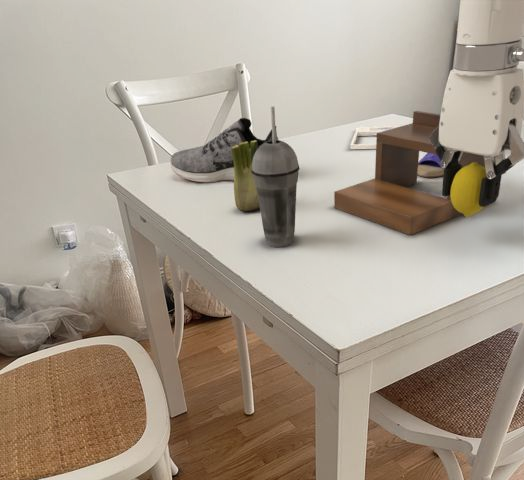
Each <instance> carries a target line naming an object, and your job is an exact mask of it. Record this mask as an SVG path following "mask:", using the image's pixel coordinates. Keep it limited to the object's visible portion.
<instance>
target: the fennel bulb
mask: <svg viewBox="0 0 524 480" xmlns="http://www.w3.org/2000/svg"><path fill="white" fill-rule="evenodd" d="M231 150H232V156H233V162H234V172H235V175H234V181H233V195H234V204H235V207H236V208H237V209H238V210H239V211H242V212H249V211H253V210H257V209H260V206H259V200H258V194H257V188H256V186H255V182H254V179H253V174H252V173H251V170H252V162H253V157H254V154H255V152H256V151H257V141H256V140H255V141H251V142H250V150H249V144H248V142H244V143H240V144H239V146H238V145H236V146H233V147H232V148H231Z"/></svg>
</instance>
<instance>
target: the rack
mask: <svg viewBox="0 0 524 480" xmlns="http://www.w3.org/2000/svg"><path fill="white" fill-rule="evenodd" d="M440 115H441V113H434V112H428V111H422V110H421V111H420V110H414V111H413V113H412V123H411V122H410V123H408V124H405V125H400V126H401V127H397V128H394V129H390V130H386V131H383V132H379V133H377V135H376V139H375V140H376V142H375V144H376V149H375V165H374V166H375V169H374V178H372V179H369V180H366V181H363V182H360V183H356V184H353V185H351V186H347V187H344V188H341V189H338V190H336V191H334V192H333V194H334V199H333V201H334V203H333V205H334V206H333V207H334V209H337V210H339V211H341V212H345V213H348V214H350V215H353V216H356V217H358V218H361V219H364V220H366V221H370V222H373V223H375V224H378V225H380V226H383V227H387V228H388V229H392V230H395V231H397V232H400V233H403V234H406V235H408V236H413V235H415V234H417V233H420V232H423V231H424V230H426V229H430V228H431V227H434V226H437V225H440V224H441V223H444V222H446V221H448V220H451V219H454V218H456V217H458V216H461V215H464V214H463V213H460V212H458V211H457V210H456V209H455V208H454V206H453V204H452V202H451V197H450V195H449V196H446V197H442V196H439V195H435V194H432V193H429V192H426V191H425V192H424V191H421V190H417V189H414V188H410V187H409V186H412V185H414V184H417V183H418V182H417V181H418V174H417V172H418V162H419V161H420V159H419V158H420V152H422V153H426V154H427V153H431V154H436V149H434V147H433V146H432V144H431V143H430V141H429V136H430V135H431V133H432V132H433V131H434V130H435V129H436V128H437V127H438V125H439V124H440ZM436 155H437V154H436ZM494 159H495V157H494ZM472 162H477V163H478V164H479V165H481V166H483V167H485V163H484V156H482V155H477V154H472V153H467V152H463V154H462V156H461V159H460V161H459V164H462V168H463V167H465V166H467V165H470V164H471V163H472ZM495 165H496V163H495Z"/></svg>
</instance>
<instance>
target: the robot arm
mask: <svg viewBox="0 0 524 480" xmlns="http://www.w3.org/2000/svg"><path fill="white" fill-rule="evenodd" d="M458 10H459V11H458V21H457V22H458V23H457V33H456V43H455V51H454V52H455V53H454V54H455V55H454V64H453V69H451V70H450V71H449V74H448V77H447V81H446V84H445V89H444V93H443V97H442V103H441V110H440V114H441V115H440V124H439V125H438V127H437V128H436V129H435V130H434V131H433V132H432V133H431V135H430V136H429V141H430V143H431V144H432V146H433V147H434V149H436V154H437V155H438V157H439V159H440V160H441V163H440V165H441V167H442V168H444V175H443V176H442V190H441V195H442V196H443V197H444V198H447V196H449V195H450V192H451V186H452V182H453V180H454V177H455V175H456V174H457V172H458V171H459V170H460V169H462V164H459V161H460V159H461V156H462V154H463V152H467V153H472V154H477V155H482V156H484V163H485V169H486V176H487V177H485V178H483V179H482V182H481V189H480V196H479V206H481V207H484V208H485V207H486V206H489V205H492V204H494V203H496V201H498V198H499V195H500V190H501V189H500V188H501V182H502V176H503V175H504V174H507V172H508V171H509V170H510V169H512V168H513V167H514V166H515V165H517V164H518V163H519V162H521V161H522V160H524V140H523V139H522V136H521V135H522V128H523V121H524V120H523V119H524V69H523V68H518V66H519V64H520V62H524V48H523V47H522V44H523V41H522V39H523V32H524V0H460V2H459V9H458ZM506 151H510V154H509V155H508V156H507V157H506ZM494 157H495V159H494ZM495 163H496V165H495ZM442 196H441V197H442Z"/></svg>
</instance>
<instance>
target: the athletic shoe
mask: <svg viewBox="0 0 524 480" xmlns="http://www.w3.org/2000/svg"><path fill="white" fill-rule="evenodd" d="M251 126H252V121H251V119H250V118H247V117H240V118H239V119H238V120H236V121H235V122H233V124H231V125H230V126H228V128H226V129H224V130H223V131H222V132H220V133H219V134H218V135H217V136H215V137H214V138H213V139H211V140H209V141H208V142H206V143H205V144H204V145H201V146H196V147H192V148H191V147H190V148H187V149H182V150H179V151H175V152H174V153H173V154H172V155H171V157H170V167H171V170H172V172H173V173H174V174H175V175H177V176H179V177H181V178H182V179H184V180H188V181H192V182H196V183H206V184H207V183H208V184H209V183H217V182H223V181H232V182H234V175H235V172H234V162H233V156H232V150H231V148H232V147H233V146H236V145H238V146H239V144H240V143H244V142H248V144H249V150H250V142H251V141H255V140H256V141H257V149H258V148H259V147H260V146H261V145H262V144H264V143H265V142H267V141H271V140H272V128H271V129H270V131H269V133H268V134H267V136H266V138H265V139H261V138H258V137H256V135H254V133H253V132H252V130H251V129H250V128H251ZM275 130H276V140H279V137H278V133H277V125H275Z"/></svg>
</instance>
